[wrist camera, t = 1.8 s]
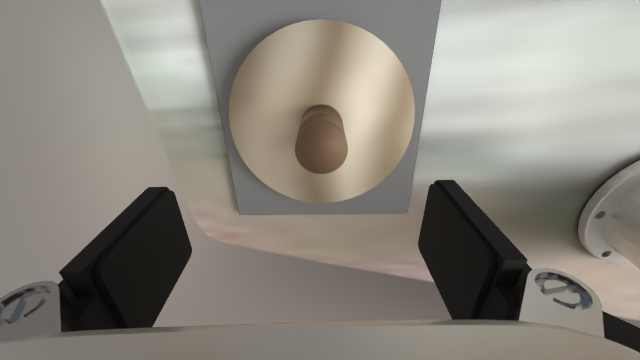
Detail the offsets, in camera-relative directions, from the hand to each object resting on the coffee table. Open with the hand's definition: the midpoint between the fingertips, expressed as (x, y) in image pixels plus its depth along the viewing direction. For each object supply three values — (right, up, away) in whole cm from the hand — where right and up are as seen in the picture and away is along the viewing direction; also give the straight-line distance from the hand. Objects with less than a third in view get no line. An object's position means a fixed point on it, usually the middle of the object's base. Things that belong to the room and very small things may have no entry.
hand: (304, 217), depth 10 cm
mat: (+1, +6, +12) cm, 14 cm away
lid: (+1, +6, +12) cm, 13 cm away
